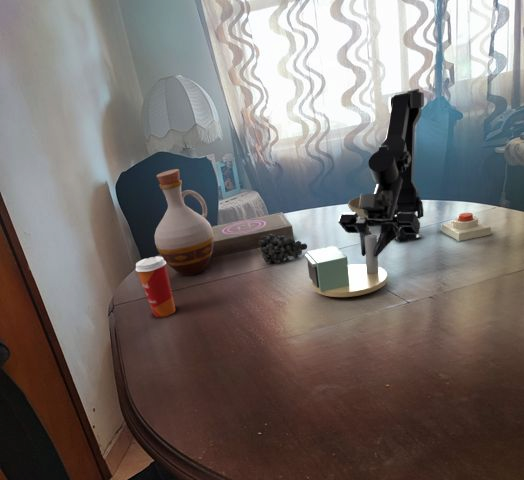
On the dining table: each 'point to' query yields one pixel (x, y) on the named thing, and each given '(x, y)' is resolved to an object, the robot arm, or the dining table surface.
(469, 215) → the button
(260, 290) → the dining table surface
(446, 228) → the box
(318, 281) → the round platter with block
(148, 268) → the paper cup
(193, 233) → the jug
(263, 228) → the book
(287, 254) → the fruit
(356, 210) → the bowl
